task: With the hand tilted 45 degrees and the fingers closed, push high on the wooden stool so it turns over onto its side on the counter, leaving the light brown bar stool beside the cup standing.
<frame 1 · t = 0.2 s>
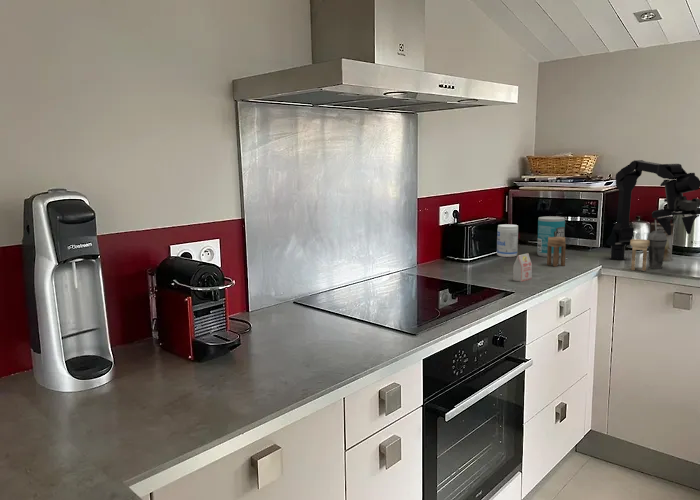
hand: (679, 234, 219), 15 cm above the worktop, tool pointing down, fingers open, 9 cm apart
milk carton: (522, 280, 218), on the worktop
food can: (550, 255, 268), on the worktop
supplement tub: (507, 256, 270), on the worktop
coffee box: (659, 259, 250), on the worktop
beverage cup: (655, 268, 233), on the worktop
wooden stool: (555, 265, 244), on the worktop
light brown bar stool: (638, 269, 231), on the worktop
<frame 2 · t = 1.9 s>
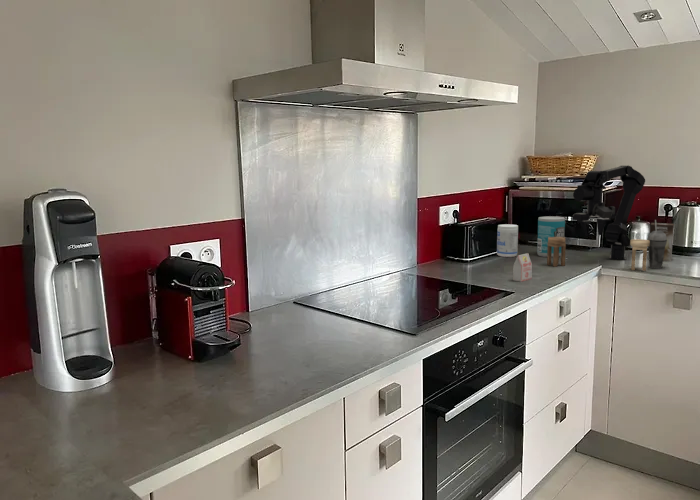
hand: (593, 235, 245), 12 cm above the worktop, tool pointing down, fingers open, 7 cm apart
nothing on the worktop moved.
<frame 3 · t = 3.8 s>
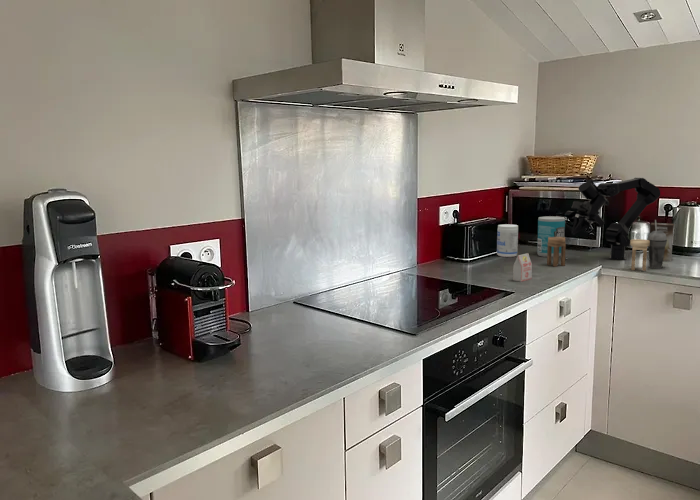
hand: (572, 233, 244), 13 cm above the worktop, tool tilted 45°, fingers closed
nothing on the worktop moved.
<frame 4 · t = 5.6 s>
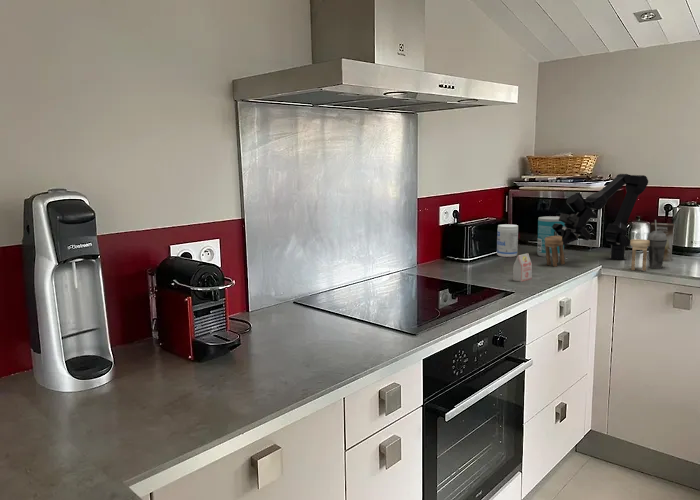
hand: (559, 246, 243), 8 cm above the worktop, tool tilted 45°, fingers closed
wooden stool: (555, 264, 244), on the worktop, tilted 9°
everything else where it was.
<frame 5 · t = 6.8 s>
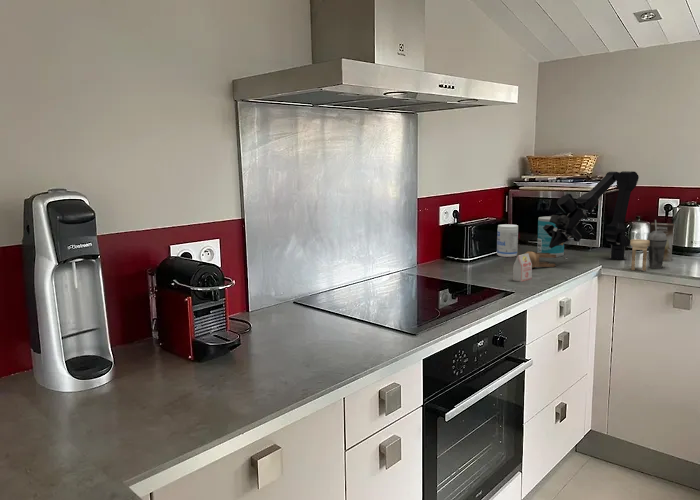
hand: (550, 247, 241), 8 cm above the worktop, tool tilted 45°, fingers closed
wooden stool: (551, 259, 242), point 3 cm above the worktop, tilted 85°
everything else where it was.
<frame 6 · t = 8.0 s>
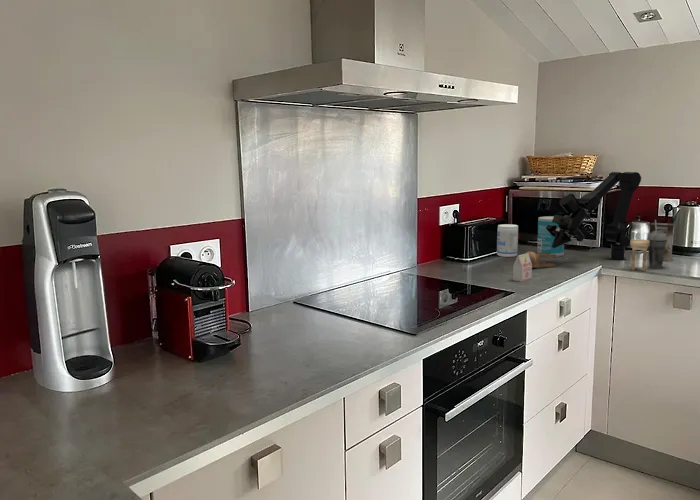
hand: (552, 247, 242), 8 cm above the worktop, tool tilted 45°, fingers closed
nothing on the worktop moved.
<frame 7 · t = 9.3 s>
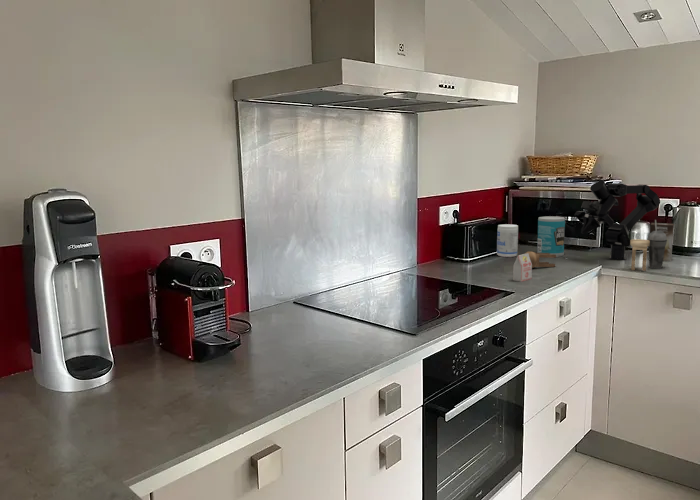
hand: (581, 233, 244), 13 cm above the worktop, tool tilted 45°, fingers closed
nothing on the worktop moved.
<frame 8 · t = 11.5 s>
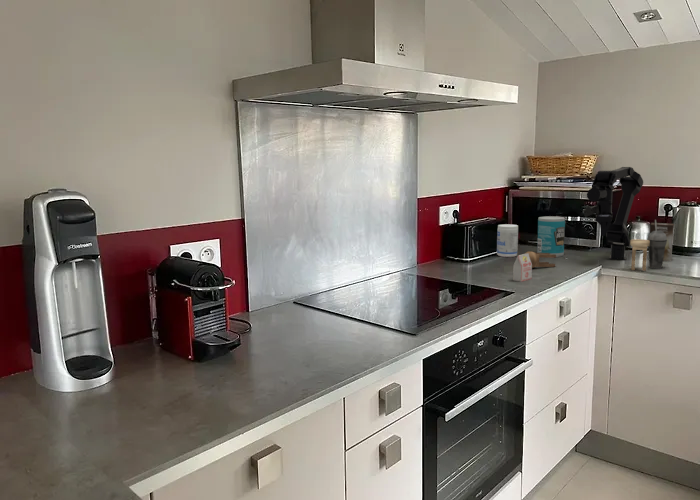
hand: (603, 235, 244), 12 cm above the worktop, tool pointing down, fingers closed
nothing on the worktop moved.
at the end: wooden stool tilted 85°; wooden stool inside the target area (9.0 cm from its centre), point 2.6 cm above the worktop; light brown bar stool tilted 0° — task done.
